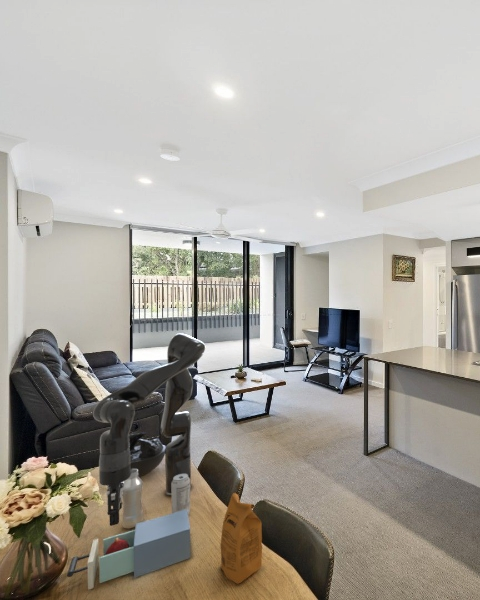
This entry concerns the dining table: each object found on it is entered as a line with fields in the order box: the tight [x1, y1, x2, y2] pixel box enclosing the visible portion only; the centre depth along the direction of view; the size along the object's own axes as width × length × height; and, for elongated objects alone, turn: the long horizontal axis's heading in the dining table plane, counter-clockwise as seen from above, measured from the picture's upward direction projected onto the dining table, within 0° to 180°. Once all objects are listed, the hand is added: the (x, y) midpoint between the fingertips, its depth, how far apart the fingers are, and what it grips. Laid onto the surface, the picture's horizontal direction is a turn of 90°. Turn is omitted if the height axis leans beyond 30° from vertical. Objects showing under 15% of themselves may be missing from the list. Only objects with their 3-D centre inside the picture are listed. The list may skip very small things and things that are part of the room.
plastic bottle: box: [121, 469, 145, 529], centre depth 132 cm, size 6×7×20 cm
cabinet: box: [133, 509, 191, 578], centre depth 117 cm, size 15×13×10 cm
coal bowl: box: [129, 431, 166, 477], centre depth 169 cm, size 20×20×19 cm
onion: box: [105, 538, 129, 555], centre depth 111 cm, size 6×6×8 cm
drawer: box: [66, 529, 135, 591], centre depth 110 cm, size 18×11×8 cm, turn 124°
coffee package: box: [219, 492, 263, 585], centre depth 111 cm, size 10×12×22 cm
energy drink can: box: [171, 474, 191, 515], centre depth 138 cm, size 6×6×15 cm
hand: (116, 516), depth 110 cm, fingers open, 8 cm apart
